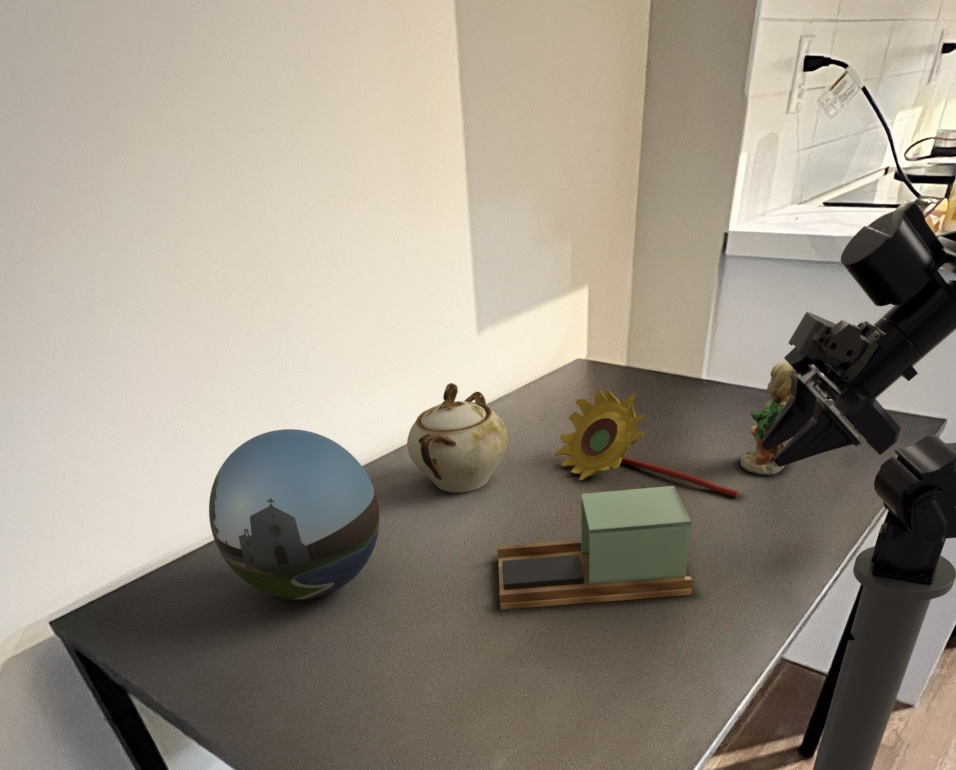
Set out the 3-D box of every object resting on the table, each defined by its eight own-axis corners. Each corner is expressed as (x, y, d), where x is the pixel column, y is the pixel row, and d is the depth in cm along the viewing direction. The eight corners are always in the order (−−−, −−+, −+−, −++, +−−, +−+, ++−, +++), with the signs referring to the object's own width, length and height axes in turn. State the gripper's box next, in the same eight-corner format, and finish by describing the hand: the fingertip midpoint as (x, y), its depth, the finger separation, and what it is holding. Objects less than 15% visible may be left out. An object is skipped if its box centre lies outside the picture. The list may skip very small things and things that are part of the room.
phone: (578, 559, 92) (578, 554, 92) (583, 583, 88) (583, 577, 87) (502, 565, 93) (502, 560, 92) (503, 589, 89) (503, 584, 88)
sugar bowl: (478, 516, 105) (467, 411, 96) (388, 504, 111) (369, 403, 102) (530, 459, 119) (525, 362, 109) (447, 451, 124) (436, 358, 115)
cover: (669, 544, 93) (674, 485, 88) (685, 582, 86) (690, 521, 81) (581, 551, 94) (580, 493, 89) (589, 590, 87) (589, 530, 82)
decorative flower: (702, 523, 98) (535, 465, 116) (730, 523, 104) (568, 467, 122) (737, 419, 93) (557, 374, 111) (765, 425, 99) (590, 381, 117)
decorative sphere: (353, 640, 85) (312, 476, 72) (208, 624, 90) (146, 469, 78) (414, 553, 99) (388, 403, 86) (285, 543, 104) (243, 401, 92)
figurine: (749, 452, 113) (764, 350, 103) (800, 461, 109) (821, 355, 100) (726, 476, 108) (740, 370, 98) (779, 486, 104) (798, 376, 94)
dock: (670, 545, 94) (672, 531, 93) (691, 595, 85) (692, 580, 84) (498, 559, 96) (497, 545, 94) (500, 609, 87) (499, 595, 86)
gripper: (820, 260, 77) (702, 378, 85) (898, 305, 63) (747, 443, 70) (878, 333, 82) (761, 439, 89) (964, 390, 67) (816, 511, 75)
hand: (769, 455), depth 81 cm, fingers open, 4 cm apart
